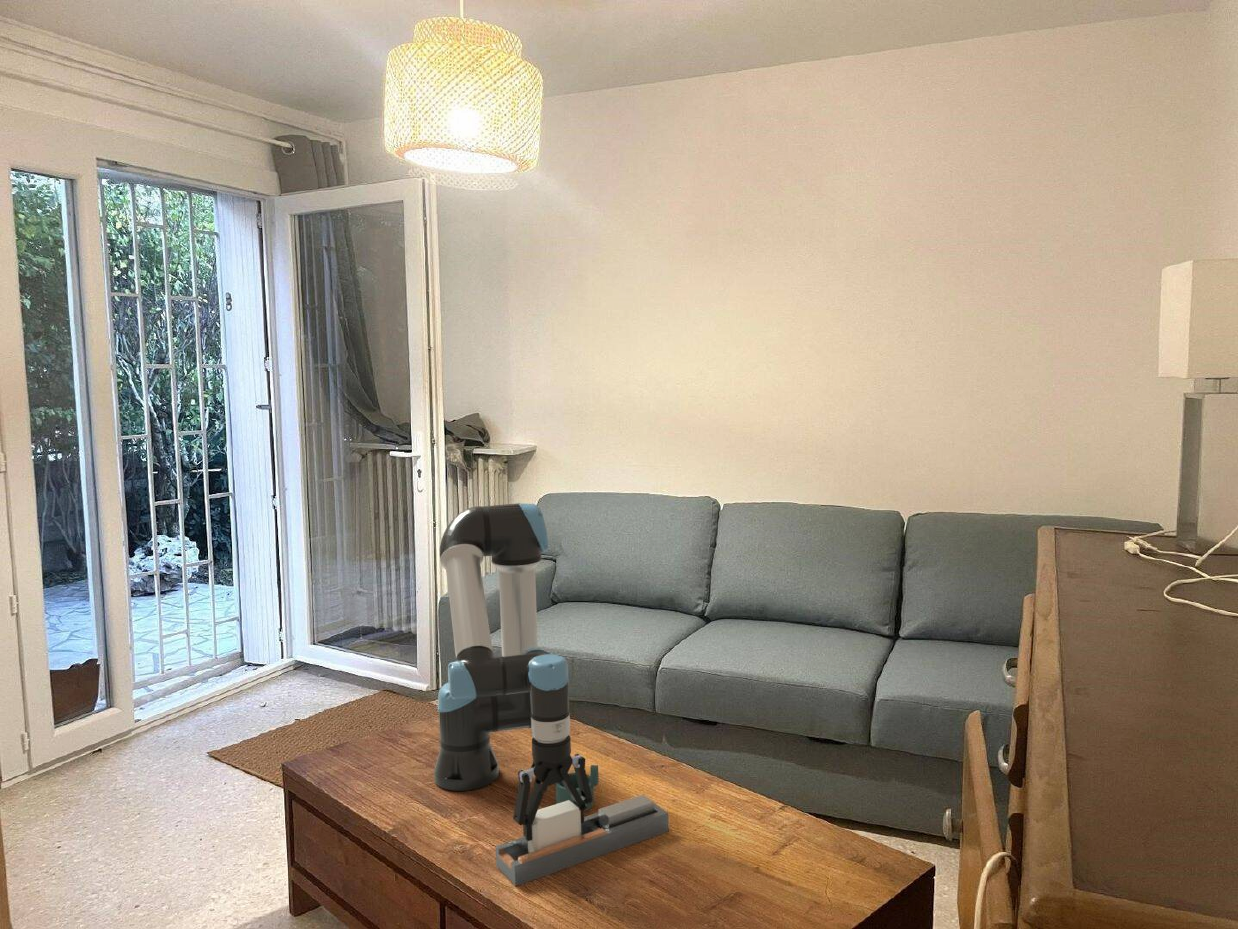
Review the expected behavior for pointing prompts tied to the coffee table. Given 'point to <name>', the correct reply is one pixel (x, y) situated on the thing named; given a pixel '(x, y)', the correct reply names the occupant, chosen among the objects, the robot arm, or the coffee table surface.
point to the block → (557, 824)
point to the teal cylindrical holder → (577, 786)
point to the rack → (585, 840)
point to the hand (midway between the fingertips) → (555, 846)
